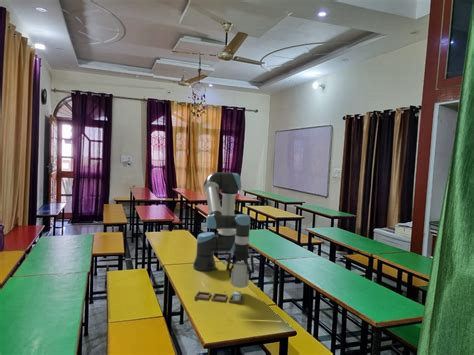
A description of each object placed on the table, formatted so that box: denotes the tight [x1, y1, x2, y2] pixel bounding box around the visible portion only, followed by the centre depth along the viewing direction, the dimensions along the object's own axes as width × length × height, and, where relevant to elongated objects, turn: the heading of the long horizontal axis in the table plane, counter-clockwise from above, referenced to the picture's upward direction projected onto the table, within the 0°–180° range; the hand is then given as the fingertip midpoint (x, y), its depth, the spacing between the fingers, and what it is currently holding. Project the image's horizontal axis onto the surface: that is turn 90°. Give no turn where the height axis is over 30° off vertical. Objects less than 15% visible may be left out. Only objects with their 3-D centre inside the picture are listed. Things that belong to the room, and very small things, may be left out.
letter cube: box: [232, 291, 242, 301], centre depth 176 cm, size 4×4×4 cm
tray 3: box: [228, 294, 245, 305], centre depth 177 cm, size 7×7×2 cm
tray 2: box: [210, 292, 229, 303], centre depth 178 cm, size 7×7×2 cm
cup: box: [231, 260, 248, 289], centre depth 185 cm, size 8×8×12 cm
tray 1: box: [193, 290, 212, 301], centre depth 179 cm, size 7×7×2 cm
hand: (239, 284), depth 186 cm, fingers closed on cup, 8 cm apart
